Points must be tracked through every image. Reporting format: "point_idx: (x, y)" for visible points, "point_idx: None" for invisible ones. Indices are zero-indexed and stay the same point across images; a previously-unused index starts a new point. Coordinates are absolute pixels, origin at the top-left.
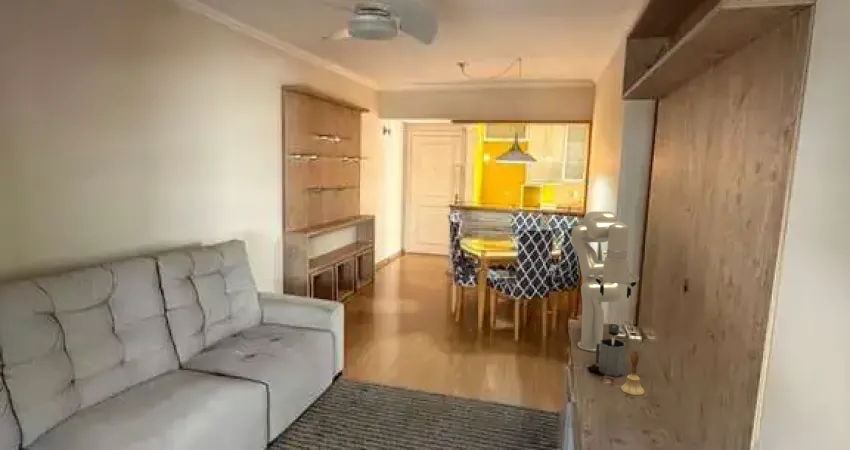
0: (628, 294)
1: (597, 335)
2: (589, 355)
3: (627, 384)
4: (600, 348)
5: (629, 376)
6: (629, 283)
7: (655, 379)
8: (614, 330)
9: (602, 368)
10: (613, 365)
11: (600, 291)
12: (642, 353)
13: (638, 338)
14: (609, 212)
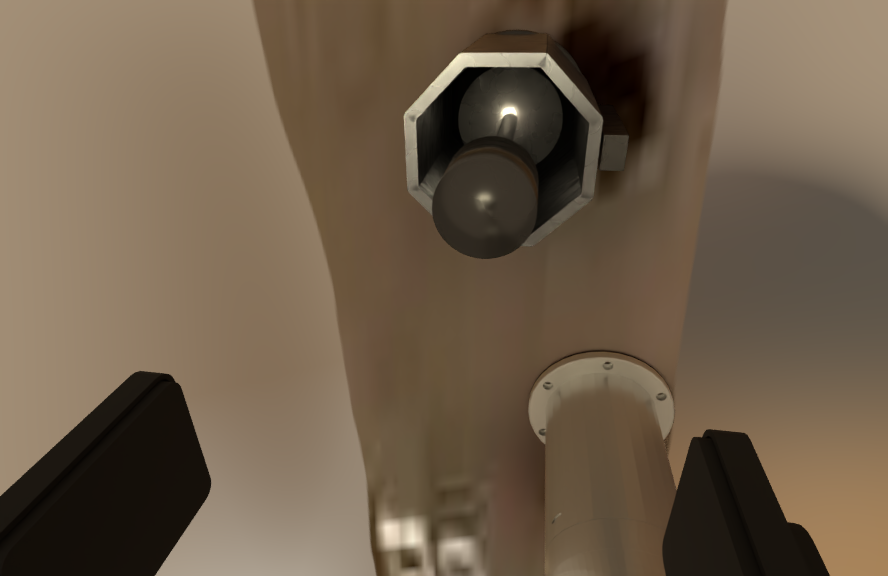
0: (91, 421)
1: (579, 427)
2: (620, 305)
3: None
4: (597, 106)
5: None
6: None
7: (288, 84)
8: (480, 147)
9: (570, 63)
10: (502, 38)
11: (802, 551)
12: (366, 386)
13: (388, 524)
14: None
